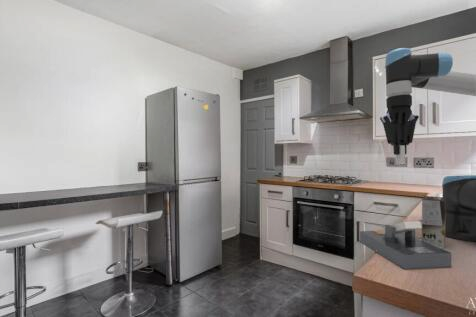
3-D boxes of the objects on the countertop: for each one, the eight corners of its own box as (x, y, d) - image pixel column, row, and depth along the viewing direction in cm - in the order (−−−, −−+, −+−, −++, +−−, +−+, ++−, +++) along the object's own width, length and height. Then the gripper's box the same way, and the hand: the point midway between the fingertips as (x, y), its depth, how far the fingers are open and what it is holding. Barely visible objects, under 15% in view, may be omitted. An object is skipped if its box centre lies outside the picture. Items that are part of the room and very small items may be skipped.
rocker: (396, 234, 88) (394, 227, 89) (422, 227, 77) (419, 220, 78) (382, 234, 88) (380, 227, 89) (405, 228, 77) (403, 220, 78)
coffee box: (444, 249, 86) (445, 200, 86) (421, 245, 90) (421, 198, 90) (445, 241, 93) (445, 197, 93) (423, 238, 97) (423, 195, 97)
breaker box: (396, 240, 95) (396, 216, 95) (451, 266, 73) (451, 235, 73) (359, 242, 94) (359, 217, 93) (404, 269, 72) (404, 237, 71)
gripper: (407, 98, 94) (409, 163, 95) (374, 98, 93) (375, 164, 93) (425, 93, 87) (426, 163, 87) (388, 93, 85) (390, 165, 86)
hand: (400, 164), depth 90 cm, fingers closed
